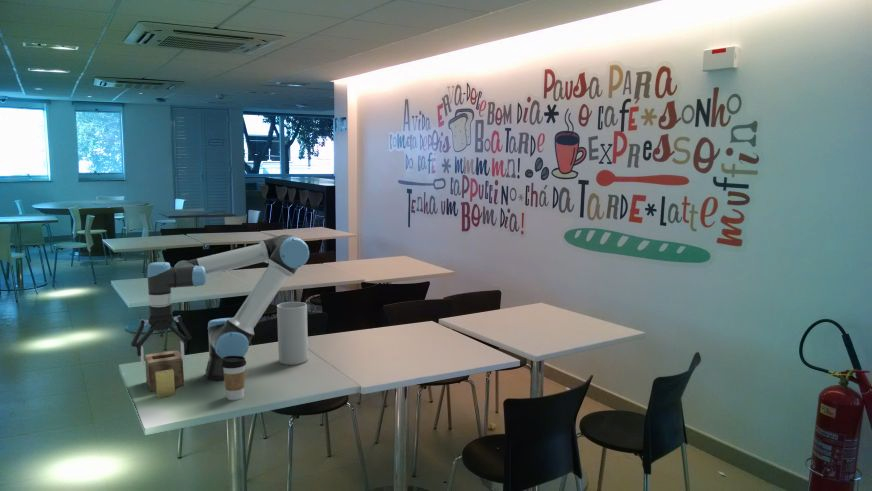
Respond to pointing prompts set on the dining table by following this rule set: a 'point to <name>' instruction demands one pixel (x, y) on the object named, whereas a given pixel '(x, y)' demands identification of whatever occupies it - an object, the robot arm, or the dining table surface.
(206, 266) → the robot arm
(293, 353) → the cylinder vase
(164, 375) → the rectangular block
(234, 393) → the coffee cup
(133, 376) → the dining table surface
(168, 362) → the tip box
